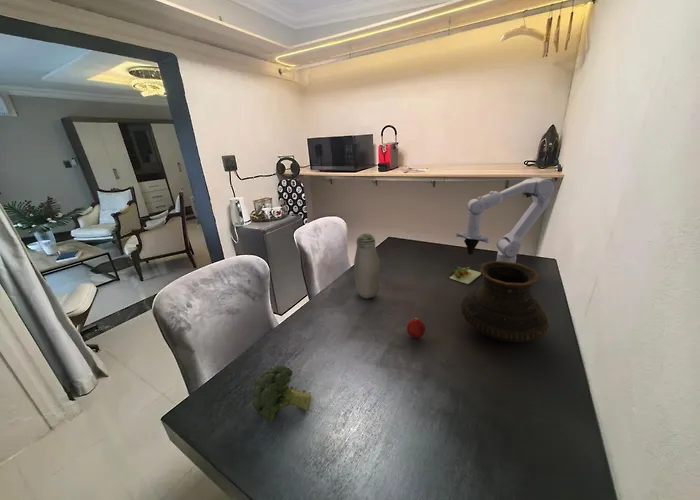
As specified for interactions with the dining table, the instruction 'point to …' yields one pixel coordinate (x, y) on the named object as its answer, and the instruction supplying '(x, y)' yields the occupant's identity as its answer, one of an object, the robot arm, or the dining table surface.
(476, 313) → the ceramic pot
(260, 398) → the vegetable
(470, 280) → the felt mat
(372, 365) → the dining table surface
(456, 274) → the figurine
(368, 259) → the glass bottle
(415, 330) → the onion
